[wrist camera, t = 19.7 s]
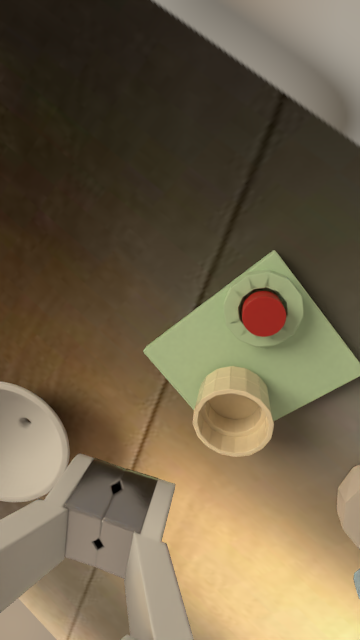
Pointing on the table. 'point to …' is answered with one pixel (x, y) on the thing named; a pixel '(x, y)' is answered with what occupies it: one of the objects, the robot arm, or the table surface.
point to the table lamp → (351, 511)
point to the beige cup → (233, 412)
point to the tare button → (263, 314)
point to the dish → (29, 445)
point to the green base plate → (257, 342)
